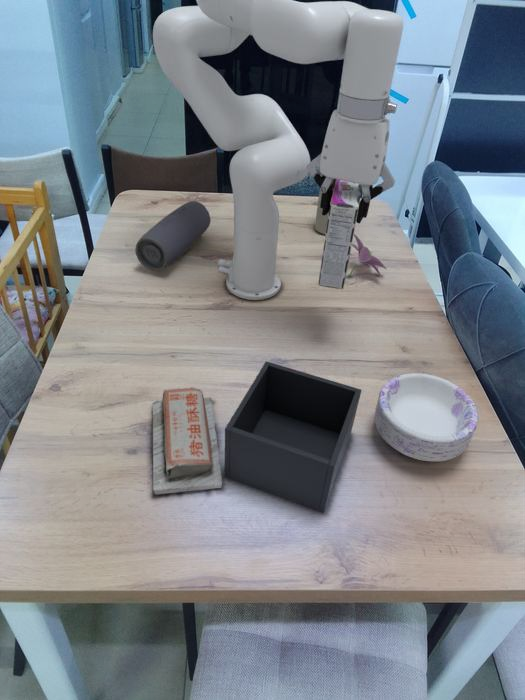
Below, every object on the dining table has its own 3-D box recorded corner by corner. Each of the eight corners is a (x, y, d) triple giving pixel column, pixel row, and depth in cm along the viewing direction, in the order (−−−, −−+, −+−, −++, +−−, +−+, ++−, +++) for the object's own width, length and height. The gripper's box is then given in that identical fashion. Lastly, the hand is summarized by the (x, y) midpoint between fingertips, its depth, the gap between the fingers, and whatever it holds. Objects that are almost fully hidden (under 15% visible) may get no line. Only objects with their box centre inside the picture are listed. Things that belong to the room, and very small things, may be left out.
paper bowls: (364, 401, 89) (373, 368, 84) (450, 406, 90) (463, 373, 84) (377, 472, 78) (388, 438, 73) (475, 477, 78) (493, 444, 73)
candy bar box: (322, 257, 101) (335, 176, 91) (347, 261, 101) (363, 180, 90) (316, 286, 93) (329, 201, 82) (343, 291, 92) (360, 206, 82)
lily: (381, 294, 118) (402, 257, 115) (337, 274, 116) (358, 235, 113) (367, 282, 129) (386, 248, 127) (327, 263, 127) (345, 228, 124)
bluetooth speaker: (181, 231, 136) (179, 195, 129) (212, 238, 133) (212, 202, 127) (135, 270, 119) (130, 231, 113) (170, 280, 117) (167, 240, 110)
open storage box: (224, 476, 76) (224, 428, 69) (262, 407, 87) (266, 360, 80) (324, 512, 72) (334, 466, 65) (350, 435, 83) (361, 389, 76)
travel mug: (315, 222, 144) (323, 158, 133) (343, 225, 144) (353, 161, 132) (313, 234, 138) (322, 169, 127) (343, 237, 138) (353, 172, 126)
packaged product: (150, 386, 83) (211, 381, 84) (152, 406, 86) (211, 402, 87) (150, 476, 69) (223, 469, 71) (153, 497, 72) (222, 489, 74)
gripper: (421, 110, 78) (394, 218, 90) (315, 92, 82) (303, 198, 94) (413, 122, 73) (386, 236, 85) (301, 103, 77) (290, 214, 89)
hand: (342, 215), depth 89 cm, fingers closed on candy bar box, 5 cm apart
